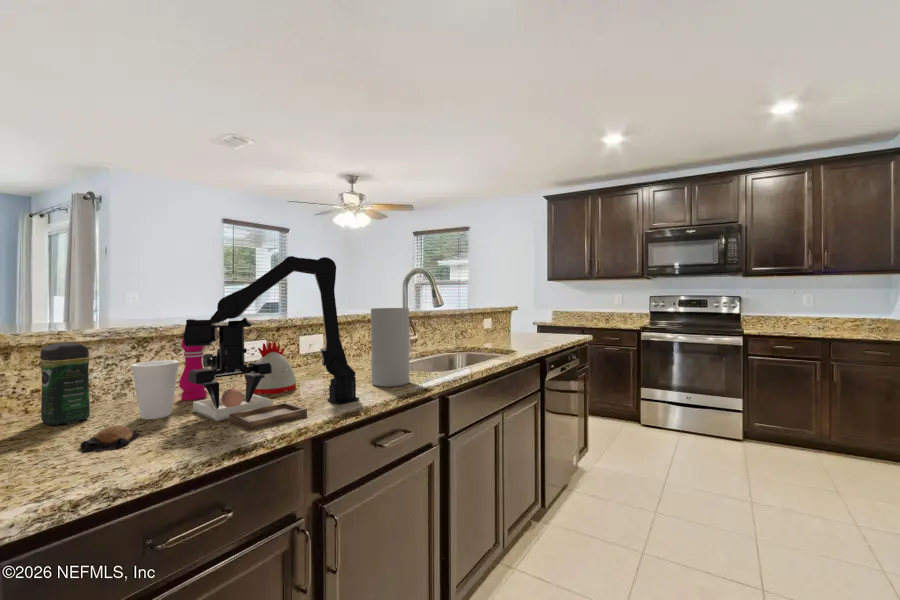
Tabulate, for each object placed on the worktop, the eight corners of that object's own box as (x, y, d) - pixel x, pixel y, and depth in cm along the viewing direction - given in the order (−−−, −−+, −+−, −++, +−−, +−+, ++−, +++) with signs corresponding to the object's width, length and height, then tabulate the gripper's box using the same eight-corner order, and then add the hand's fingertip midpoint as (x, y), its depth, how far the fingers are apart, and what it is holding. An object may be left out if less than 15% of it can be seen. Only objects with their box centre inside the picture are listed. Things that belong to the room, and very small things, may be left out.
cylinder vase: (383, 378, 150) (382, 307, 150) (415, 381, 146) (414, 308, 146) (364, 386, 138) (363, 309, 138) (399, 388, 134) (398, 309, 134)
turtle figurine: (94, 440, 89) (94, 422, 89) (143, 435, 92) (142, 418, 92) (72, 458, 79) (72, 438, 79) (127, 451, 83) (126, 432, 83)
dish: (247, 401, 119) (246, 392, 119) (271, 409, 111) (271, 399, 111) (193, 411, 109) (193, 401, 109) (215, 421, 100) (215, 410, 100)
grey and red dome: (240, 390, 134) (239, 342, 134) (282, 383, 144) (281, 338, 144) (261, 396, 125) (260, 345, 125) (304, 388, 135) (303, 341, 135)
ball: (238, 404, 113) (238, 385, 113) (246, 407, 110) (246, 388, 110) (218, 408, 109) (218, 388, 109) (226, 411, 106) (226, 391, 106)
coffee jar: (95, 419, 103) (94, 342, 102) (52, 428, 96) (51, 345, 96) (78, 414, 107) (77, 340, 107) (36, 422, 101) (34, 343, 100)
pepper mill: (173, 399, 122) (172, 329, 122) (196, 394, 128) (196, 327, 128) (191, 401, 119) (190, 330, 119) (214, 396, 126) (213, 328, 125)
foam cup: (155, 422, 100) (154, 366, 100) (122, 420, 102) (121, 365, 102) (187, 411, 109) (187, 360, 109) (157, 409, 111) (156, 359, 111)
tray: (285, 409, 110) (285, 402, 110) (307, 416, 104) (306, 408, 104) (229, 421, 99) (229, 414, 99) (249, 430, 93) (249, 422, 93)
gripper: (253, 339, 122) (253, 394, 122) (179, 346, 108) (180, 407, 108) (272, 342, 115) (273, 400, 115) (196, 349, 100) (197, 415, 101)
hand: (232, 405), depth 110 cm, fingers open, 7 cm apart
